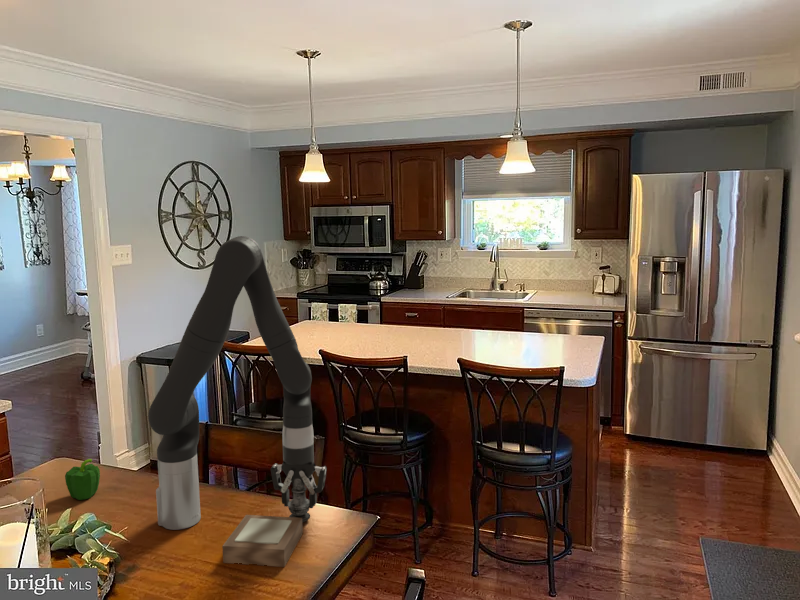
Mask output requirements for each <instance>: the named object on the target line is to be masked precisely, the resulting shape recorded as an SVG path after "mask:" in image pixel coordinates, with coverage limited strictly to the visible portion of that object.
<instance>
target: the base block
mask: <svg viewBox="0 0 800 600" xmlns="http://www.w3.org/2000/svg"><path fill="white" fill-rule="evenodd" d="M238 523H239V524H238V525H237V526H236V528H235V529H234V530H233V531H232V533H231V534H230V535H229V537H228V538H227V539H226V540H225V542H224V543H223V545H222V560H223V561H222V563H223V564H234V563H238V564H237V565H240V564H239V563H242V564H241V565H249V564H257V565H256V566H264V565H267V566H266V567H278V568H279V567H280V568H285V567H286V565H287V563H288V562H289V560H290V558H291V556H292V554H293V552H294V551H295V548H296V547H297V545H298V543H299V541H300V539H301V537H302V535H303V531H304V530H303V522H302V518H295V517H289V516H278V515H277V516H274V515H272V516H271V515H255V514H245V515H244V517H243V518H242V520H240V522H238Z"/></svg>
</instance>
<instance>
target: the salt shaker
mask: <svg viewBox="0 0 800 600" xmlns="http://www.w3.org/2000/svg"><path fill="white" fill-rule="evenodd" d="M306 491H307V487H306V485H305V483H303V482H302V481H301V480H300V479H295V480H294V482H292V488H291V492H292V499H291V500H289V502H288V504H287V505H288V506H287V508H288V510H289V512H290V515H289V516H288V517H295V518H302V523H305V522H307V521H308V520H310V518H311V514H310V513H309V511H310V509H311V508H310V505H309V499H308V498H307V497H306Z"/></svg>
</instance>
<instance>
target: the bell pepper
mask: <svg viewBox="0 0 800 600" xmlns="http://www.w3.org/2000/svg"><path fill="white" fill-rule="evenodd" d="M92 462H93V459H92V458H88V459H86V460H84V461H83V462H81V465H80V466H73V467H72V468H70V469H69V470H68V471H66V472H65V475H64V480H65V486H66V488H67V490H68V493H69V495H70V497H71V498H72V499H76V500H79V501H83V500H88V499H91V498H92V497H93V496H94V495H95V494H96V493H97V492H98V490H99V485H100V478H101V470H100V467H99V466H98V465H94V464H93V463H92Z"/></svg>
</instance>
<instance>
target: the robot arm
mask: <svg viewBox="0 0 800 600" xmlns="http://www.w3.org/2000/svg"><path fill="white" fill-rule="evenodd" d="M267 269H268V268H267V266H266V263H265V259H264V255H263V251H262V248H261V246H260V244H259V243H258V242H257V241H256V240H254V239H253V238H251V237H250V236H245V235H244V236H243V235H240V236H239V235H238V236H235V237H233V238H231V239H229V240H226V241H225V242H223V243H222V244H221V245H220V247H219V248H218V250H217V251H216V253H215V257H214V260H213V263H212V267H211V271H210V275H209V278H208V280H207V284H206V287H205V289H204V292H203V293H202V295H201V297H200V299H199V301H198V303H197V305H196V306H195V309H194V311H193V313H192V314H191V315H192V316H191V317H190V319H189V321H188V324H187V326H186V328H185V330H184V333H183V335H182V338H181V341H180V342H179V345H178V348H177V351H176V353H175V355H174V357H173V360H172V362H171V365H170V368H169V371H168V373H167V375H166V377H165V380H164V381H163V383H162V384H161V387H160V388H159V390H158V392H157V394H156V396H155V397H154V398H153V401H152V402H151V404H150V407H149V410H148V414H147V415H148V416H147V417H148V418H147V419H148V420H147V421H148V424H149V426H150V429H152V431H153V432H155V434H158V435H161V436H162V438H161V441H160V442H159V444H158V445H157V449H156V456H157V457H156V458H157V473H158V487H157V488H156V489H155V496H156V511H157V524H158V526H161V527H163V528H165V529H166V530H170V531H172V530H174V531H175V530H184V529H188V528H190V527H192V526H195V525H196V524H198V523H199V522H200V521H201V518H202V517H201V516H202V515H201V500H200V498H201V497H200V483H199V465H198V445H199V442H200V409H199V403H198V400H197V398H196V397H195V396H194V392H195V390H196V387H198V385H199V383H200V382H201V380H202V379H203V378H204V377H205V375H207V373H208V372H209V370H210V369H211V368H212V366H213V365H214V364H215V362H216V360H217V359H218V356H220V353H221V351H222V348H223V347H224V344H225V342H226V340H227V337H228V334H229V331H230V328H231V323H232V318H233V313H234V307H235V304H236V302H237V299H238V298H239V295H240V293H241V291H242V289H243V288H244V289H245V292H246V294H247V297H248V299H249V301H250V305H251V309H252V312H253V317H254V320H255V324H256V327H257V329H258V330H257V331H258V333H259V335H260V337H261V339H262V341H263V343H264V345H265V347H266V350H267V351H268V353H269V355H270V357H271V359H272V361H273V364H274V366H275V370H276V373H277V375H278V377H279V380H280V382H281V384H282V390H283V407H282V434H281V435H282V464H278V463H274V464H272V466H271V468H270V474H271V480H272V484H273V489H274V490H275V491H277V490H278V491H280V493H281V503H282V505H283V506H284V507H287V508H288V505H287V504H288V502H289V501H290V489H289V487H290V485H291V483H293V482H294V480H295V479H300V480H301V481H302V482H303V483H305V487H306V489H307V490H308V491H309V495H308V497H309V499H308V500H309V505H310V508H309V509H313V508H314V507H315V506H316V505H317V502H318V501H317V500H318V499H317V498H318V497H317V496H318V495H317V493H322V492H323V489H324V488H325V483H326V478H327V469H328V468H327V466H326V465H323V466H318V465H316V463H315V450H314V449H315V447H314V440H315V436H314V427H313V408H312V401H311V386H312V381H313V377H312V370H311V367H310V366H309V363H307V362H306V361H305V360H304V358H303V356H302V354H301V352H300V350H299V347H298V342H297V340H296V337H295V335H294V332H293V331H292V329H291V326H290V324H289V322H288V320H287V318H286V316H285V314H284V311H283V310H282V307H281V304H280V302H279V300H278V298H277V296H276V292H275V291H274V287H273V285H272V283H271V280H270V277H269V274H268V270H267ZM281 472H283V473H284V474H285V476H286V478H285V480H284V482H282V480H281V479H282V477H281V474H280V473H281ZM314 472H316V476H317V477H318V482H317V485H316V482H315V478H314V476H313V473H314Z"/></svg>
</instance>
